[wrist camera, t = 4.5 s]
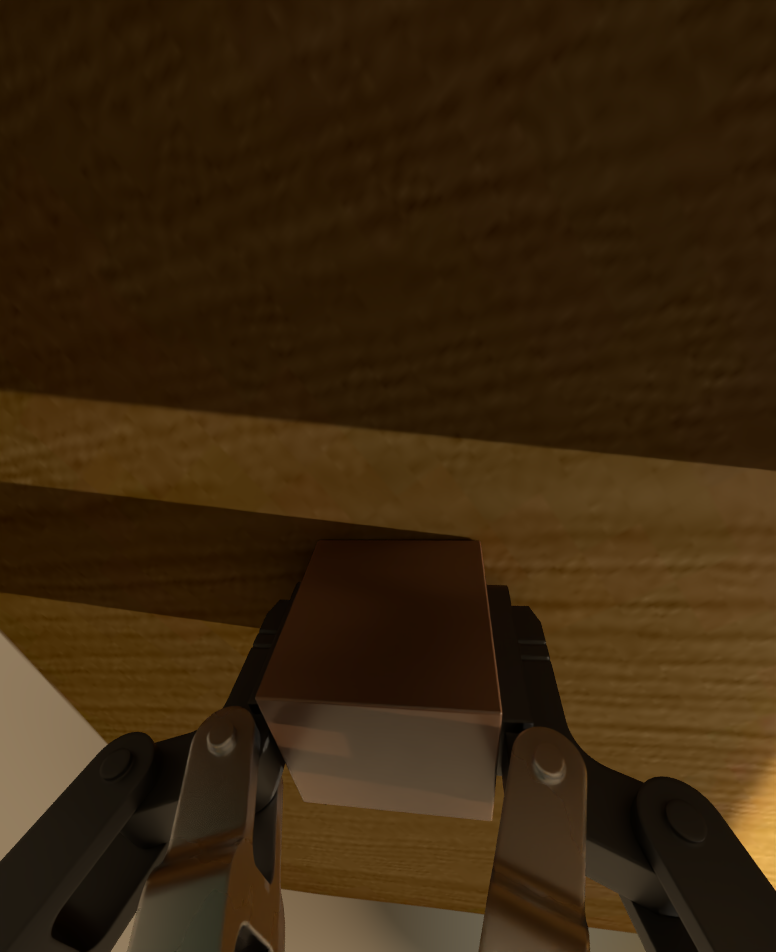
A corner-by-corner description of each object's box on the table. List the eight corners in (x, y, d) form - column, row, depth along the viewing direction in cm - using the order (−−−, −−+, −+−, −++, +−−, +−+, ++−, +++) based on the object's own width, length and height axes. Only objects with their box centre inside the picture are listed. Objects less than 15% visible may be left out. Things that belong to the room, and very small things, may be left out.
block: (342, 641, 13) (303, 802, 9) (317, 539, 11) (253, 698, 7) (477, 646, 13) (492, 822, 9) (480, 539, 10) (502, 714, 7)
